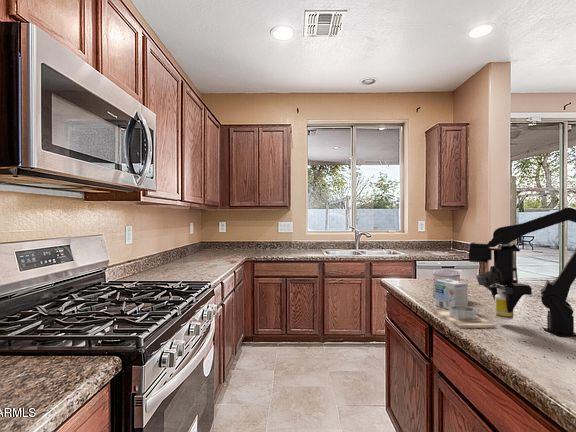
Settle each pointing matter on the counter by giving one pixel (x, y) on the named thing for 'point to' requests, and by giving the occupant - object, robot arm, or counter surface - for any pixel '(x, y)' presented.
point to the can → (444, 276)
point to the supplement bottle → (502, 305)
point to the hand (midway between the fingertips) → (503, 310)
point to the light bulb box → (450, 293)
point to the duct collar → (463, 313)
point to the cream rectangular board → (463, 323)
